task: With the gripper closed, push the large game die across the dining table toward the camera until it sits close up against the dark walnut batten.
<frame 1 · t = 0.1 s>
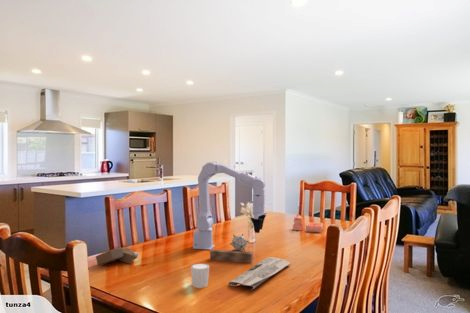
hand: (258, 230, 169), 10 cm above the table, fingers open, 7 cm apart
batten: (231, 260, 155), on the table
white short cylinder: (200, 285, 126), on the table
grey angled block: (120, 263, 152), on the table
game die: (239, 251, 170), on the table
pottery: (307, 230, 214), on the table
newspaper: (262, 276, 137), on the table
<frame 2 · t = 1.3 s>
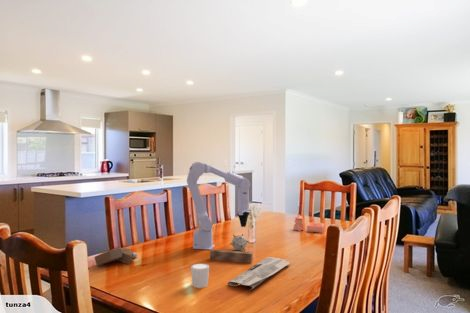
hand: (243, 226, 180), 10 cm above the table, fingers closed
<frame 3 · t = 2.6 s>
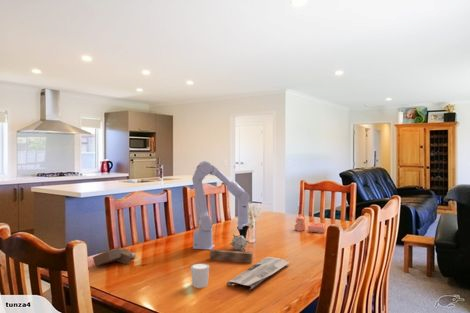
hand: (243, 240, 179), 3 cm above the table, fingers closed
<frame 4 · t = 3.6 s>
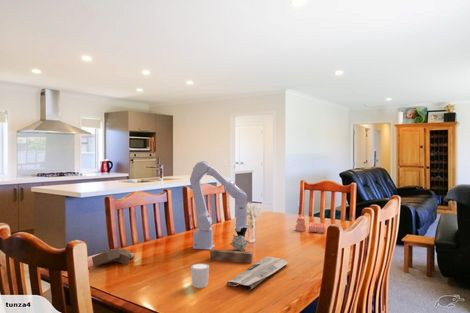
hand: (241, 242, 175), 3 cm above the table, fingers closed
game die: (239, 251, 170), on the table, touching gripper
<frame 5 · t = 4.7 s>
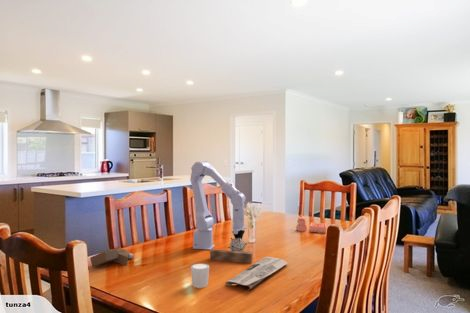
hand: (238, 245, 169), 3 cm above the table, fingers closed, pressing on game die
game die: (237, 254, 164), on the table, touching gripper
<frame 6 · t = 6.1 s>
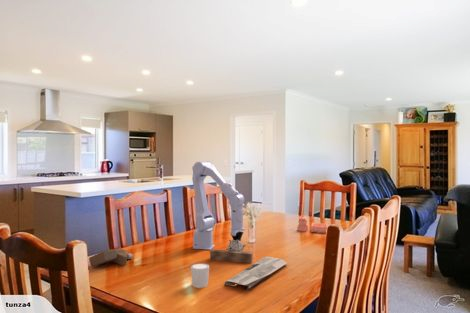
hand: (237, 247, 165), 3 cm above the table, fingers closed, pressing on game die
game die: (236, 256, 161), on the table, touching gripper
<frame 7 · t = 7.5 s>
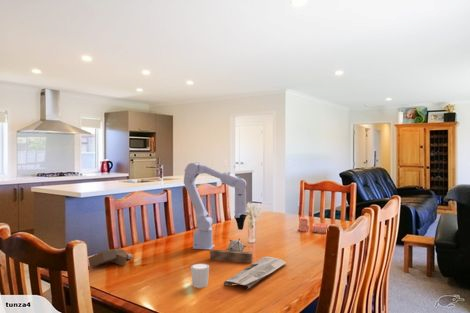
hand: (240, 229, 173), 10 cm above the table, fingers closed
game die: (236, 256, 161), on the table
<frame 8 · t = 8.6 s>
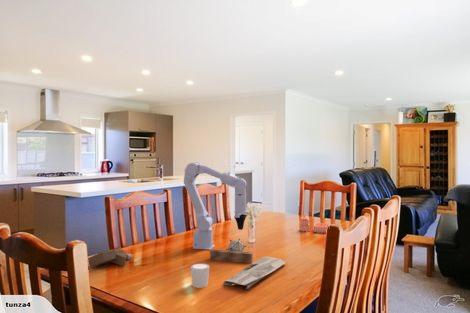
hand: (240, 229, 173), 10 cm above the table, fingers closed
at the end: game die inside the target area on the table beside the batten (1.0 cm from its centre), on the table; game die tilted 0° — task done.
